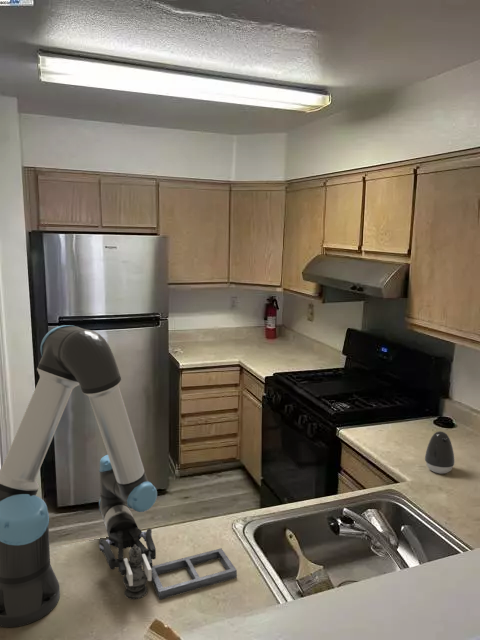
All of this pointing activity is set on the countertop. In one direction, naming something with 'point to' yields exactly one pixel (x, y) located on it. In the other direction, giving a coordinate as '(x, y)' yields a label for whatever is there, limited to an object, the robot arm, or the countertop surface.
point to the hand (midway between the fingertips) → (140, 577)
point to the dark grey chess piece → (136, 575)
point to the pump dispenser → (440, 453)
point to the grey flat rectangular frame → (192, 573)
